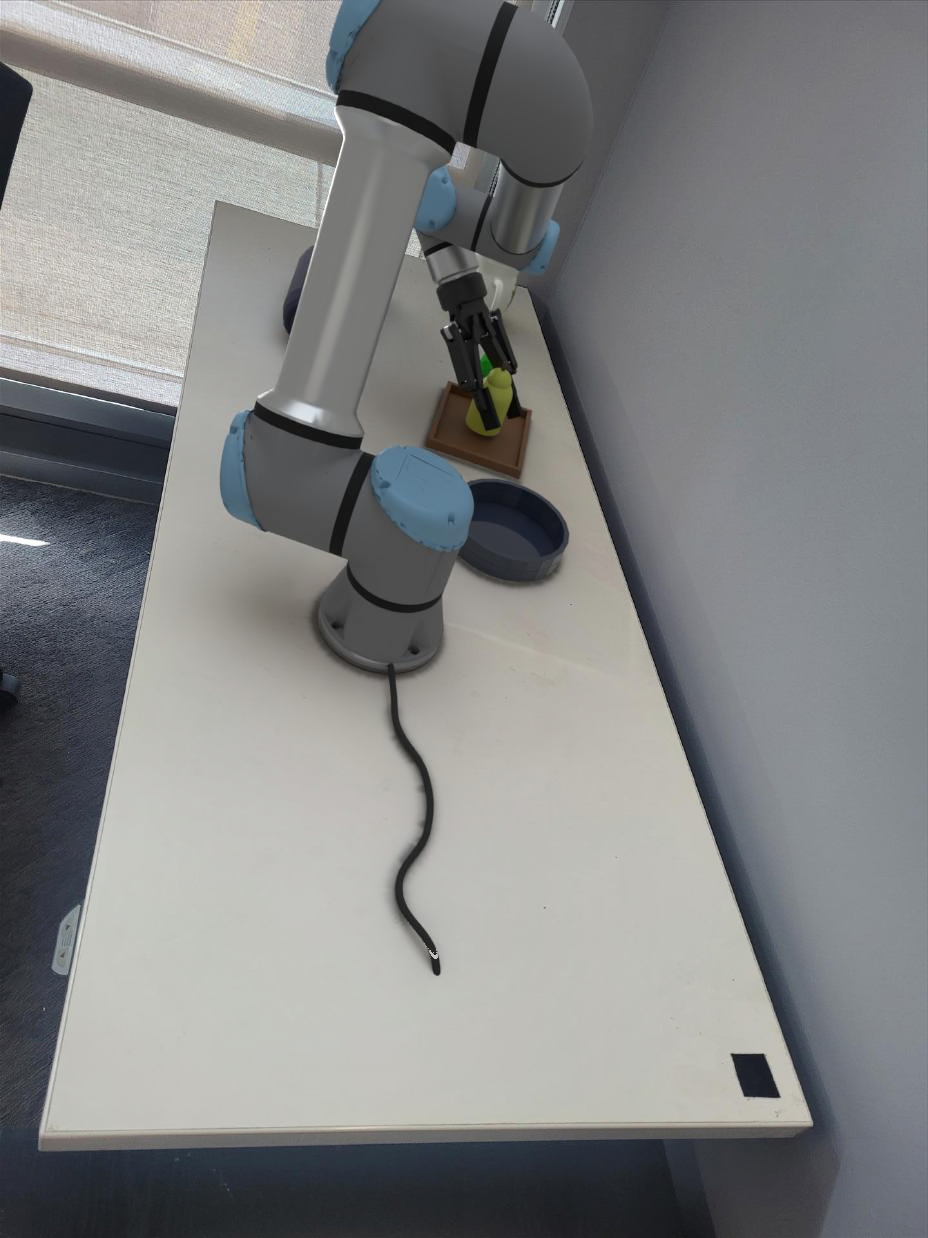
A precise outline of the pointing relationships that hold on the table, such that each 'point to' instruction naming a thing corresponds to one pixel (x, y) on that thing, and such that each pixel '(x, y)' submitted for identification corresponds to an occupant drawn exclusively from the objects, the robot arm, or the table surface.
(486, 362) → the polyhedron
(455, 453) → the tray
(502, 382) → the pear
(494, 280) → the pitcher
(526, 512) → the bowl
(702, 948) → the table surface
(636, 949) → the table surface
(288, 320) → the portable speaker
